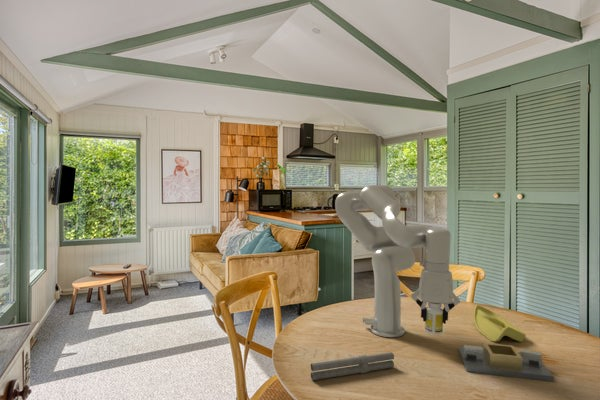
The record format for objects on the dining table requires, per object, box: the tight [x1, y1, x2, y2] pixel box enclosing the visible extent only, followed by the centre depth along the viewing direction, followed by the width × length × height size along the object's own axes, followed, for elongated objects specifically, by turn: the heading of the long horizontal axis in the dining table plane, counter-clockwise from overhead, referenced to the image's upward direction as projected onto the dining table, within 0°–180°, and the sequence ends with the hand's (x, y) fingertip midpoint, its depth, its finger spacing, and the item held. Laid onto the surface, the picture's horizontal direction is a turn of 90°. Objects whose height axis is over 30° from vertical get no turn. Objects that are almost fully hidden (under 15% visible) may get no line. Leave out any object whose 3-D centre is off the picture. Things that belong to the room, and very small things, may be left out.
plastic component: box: [473, 304, 527, 343], centre depth 133 cm, size 20×7×10 cm
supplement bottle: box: [424, 302, 444, 335], centre depth 117 cm, size 5×5×10 cm
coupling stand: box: [458, 342, 555, 382], centre depth 108 cm, size 22×14×4 cm, turn 75°
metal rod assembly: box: [310, 352, 395, 381], centre depth 103 cm, size 26×3×5 cm, turn 106°
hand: (434, 320), depth 117 cm, fingers closed on supplement bottle, 5 cm apart
